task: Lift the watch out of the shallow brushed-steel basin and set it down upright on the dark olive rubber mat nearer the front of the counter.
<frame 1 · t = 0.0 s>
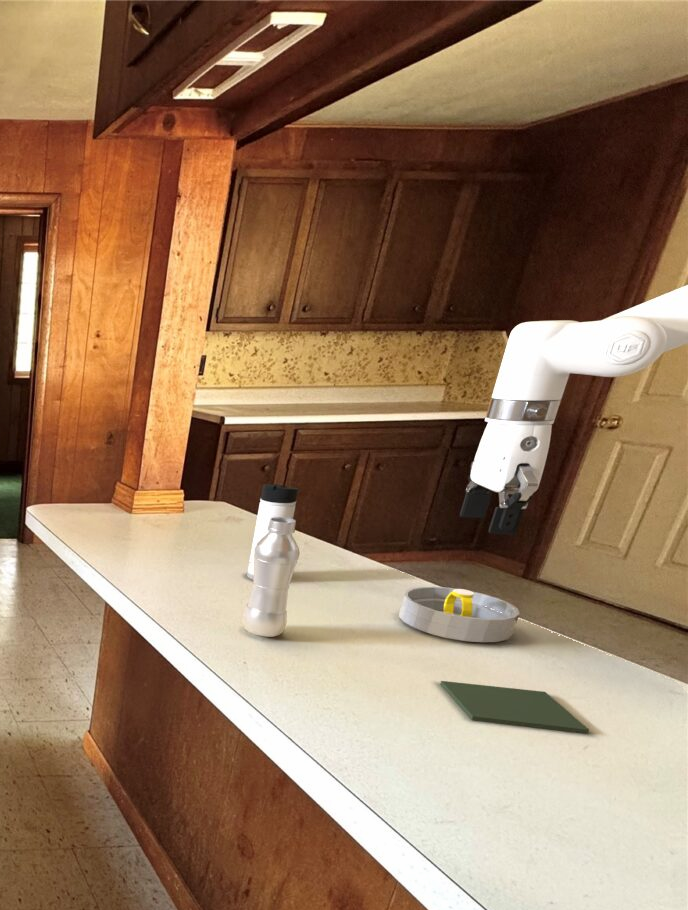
hand: (486, 525, 103), 19 cm above the countertop, tool pointing down, fingers open, 9 cm apart
travel mug: (262, 579, 138), on the countertop
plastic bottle: (261, 634, 113), on the countertop
basin: (452, 626, 113), on the countertop
watch: (452, 624, 113), resting in basin
mat: (508, 707, 89), on the countertop
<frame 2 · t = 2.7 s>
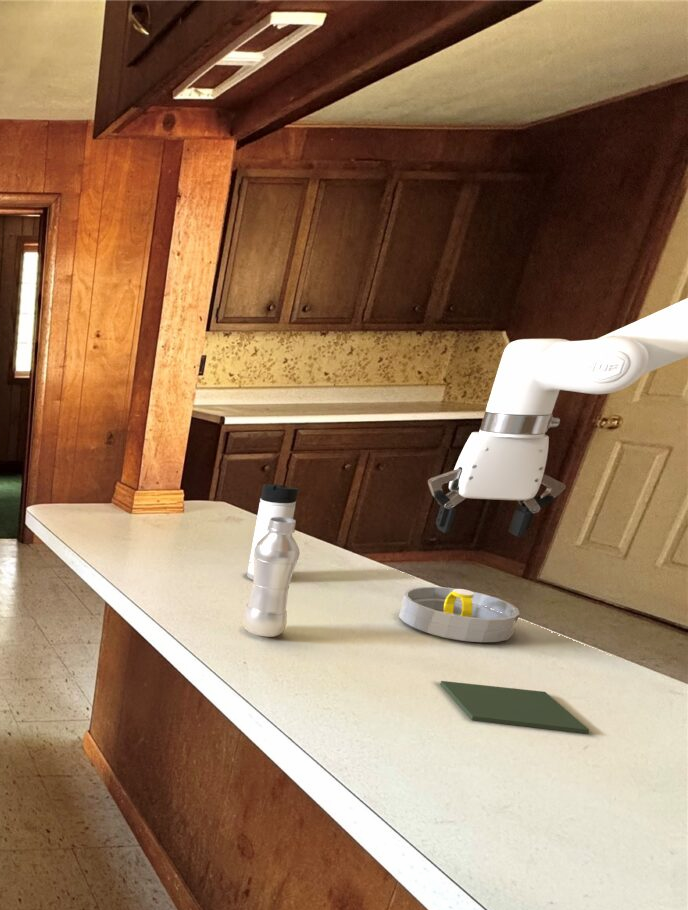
hand: (478, 532, 107), 17 cm above the countertop, tool pointing down, fingers open, 9 cm apart
nothing on the countertop moved.
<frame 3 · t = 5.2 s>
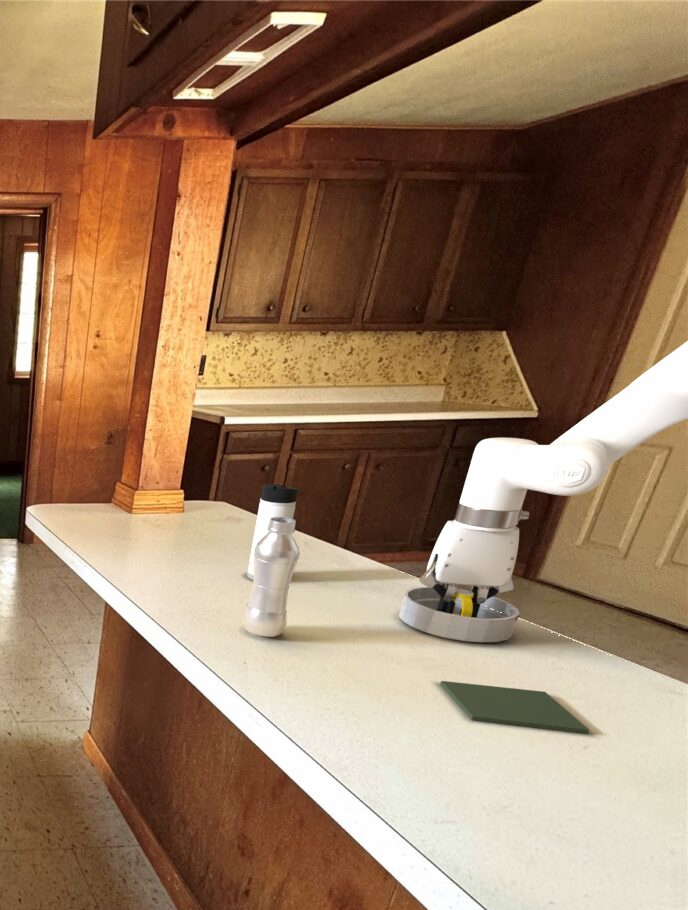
hand: (453, 620, 113), 1 cm above the countertop, tool pointing down, fingers closed on watch, 2 cm apart
watch: (452, 624, 113), resting in basin, touching gripper
everything else where it was.
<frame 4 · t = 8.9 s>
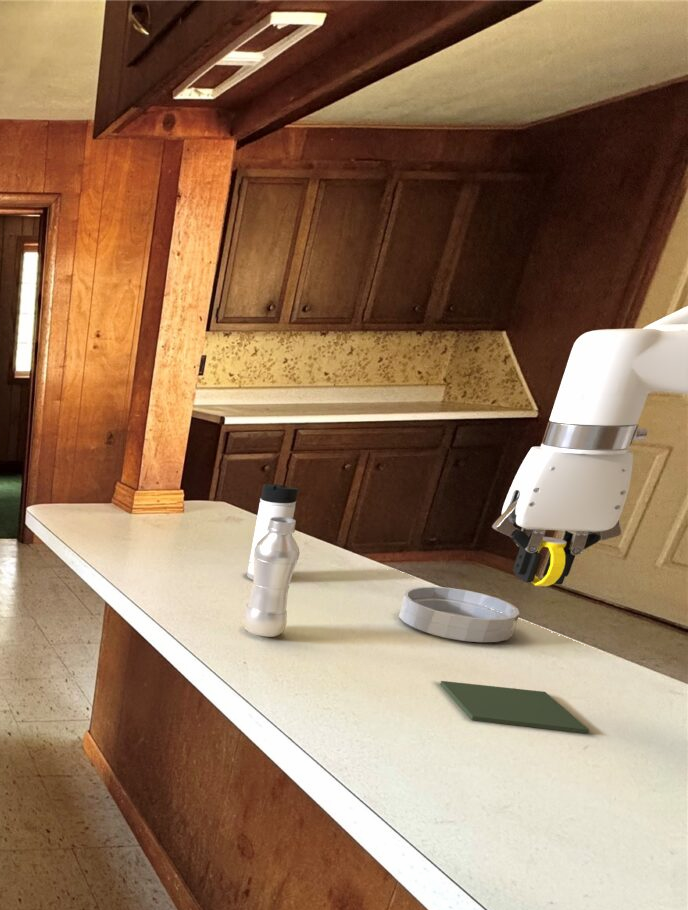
hand: (537, 578, 87), 17 cm above the countertop, tool pointing down, fingers closed on watch
watch: (534, 584, 87), point 16 cm above the countertop, touching gripper
everything else where it was.
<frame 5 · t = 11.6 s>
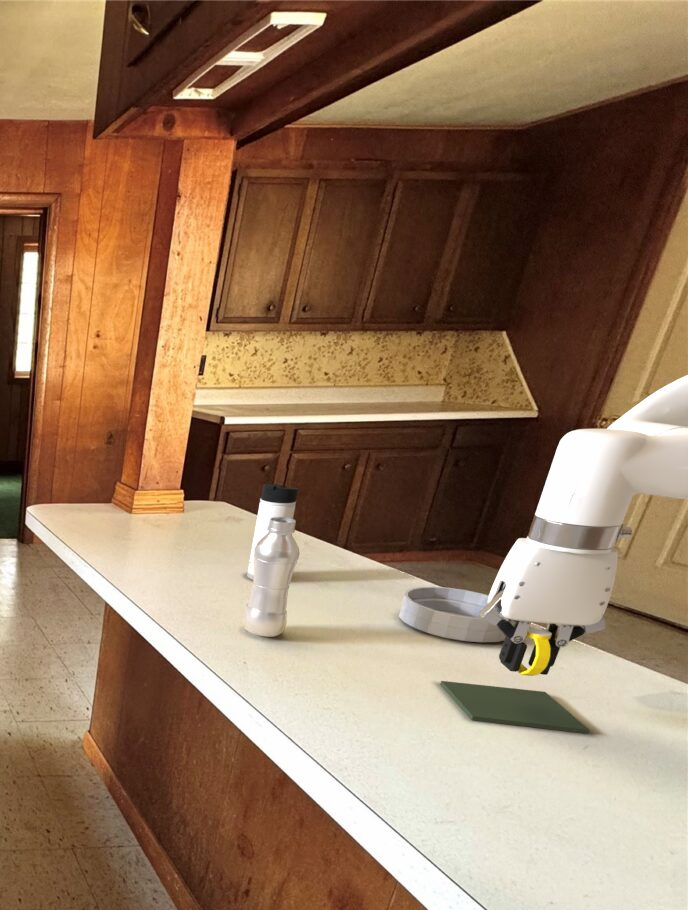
hand: (523, 667, 87), 6 cm above the countertop, tool pointing down, fingers closed on watch
watch: (520, 672, 87), point 5 cm above the countertop, touching gripper
everything else where it was.
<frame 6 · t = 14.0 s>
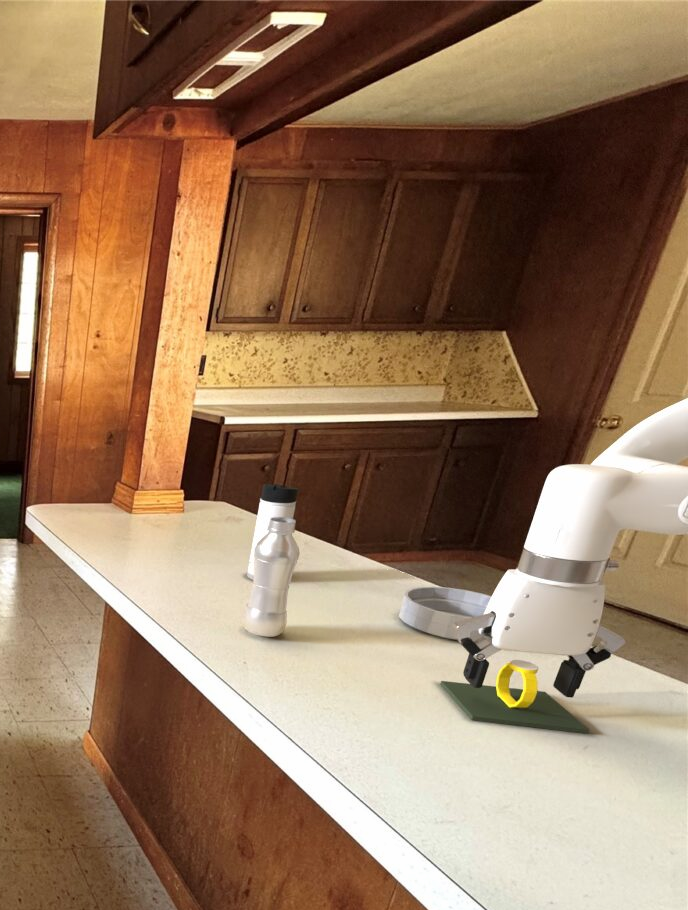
hand: (516, 687, 88), 3 cm above the countertop, tool pointing down, fingers open, 9 cm apart
watch: (509, 704, 89), resting on mat
everything else where it was.
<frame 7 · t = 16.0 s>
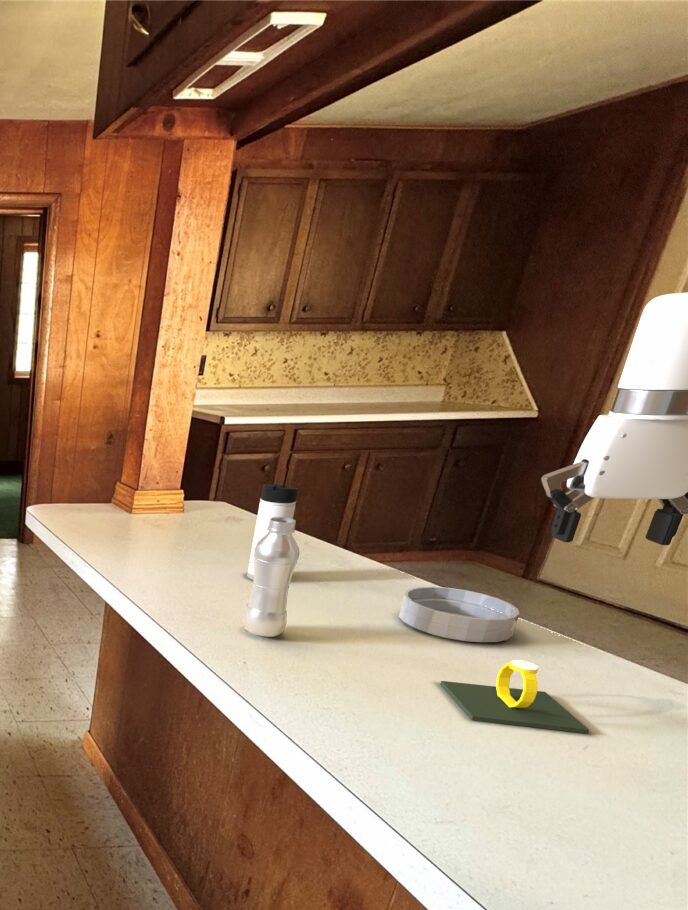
hand: (608, 540, 85), 22 cm above the countertop, tool pointing down, fingers open, 9 cm apart
nothing on the countertop moved.
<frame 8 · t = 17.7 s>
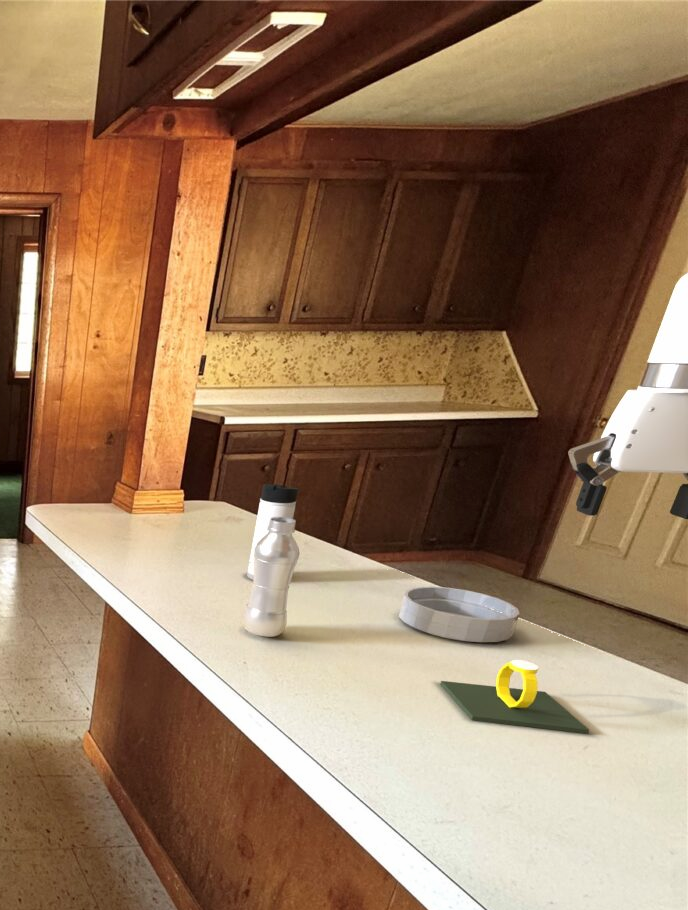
hand: (632, 515, 87), 24 cm above the countertop, tool pointing down, fingers open, 9 cm apart
nothing on the countertop moved.
at the end: watch inside the target area on the mat (0.0 cm from its centre), point 0.4 cm above the mat's base; watch tilted 0°; watch touching mat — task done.
